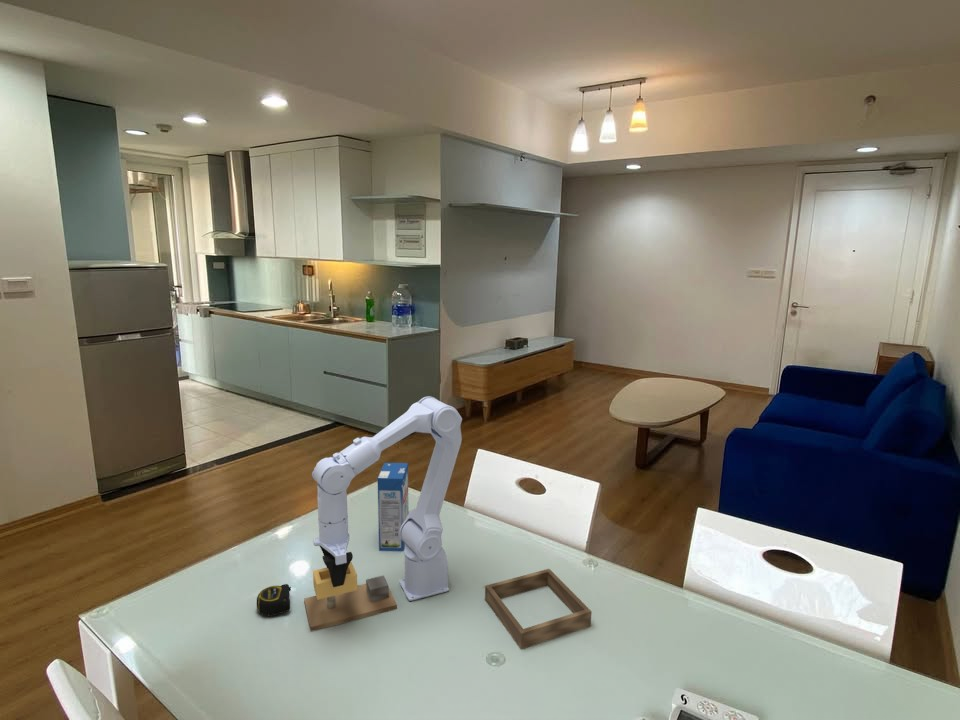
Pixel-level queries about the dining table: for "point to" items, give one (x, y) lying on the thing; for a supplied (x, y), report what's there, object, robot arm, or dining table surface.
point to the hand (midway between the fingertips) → (335, 577)
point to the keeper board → (350, 604)
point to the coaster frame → (543, 630)
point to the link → (325, 585)
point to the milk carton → (392, 505)
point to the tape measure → (274, 600)
